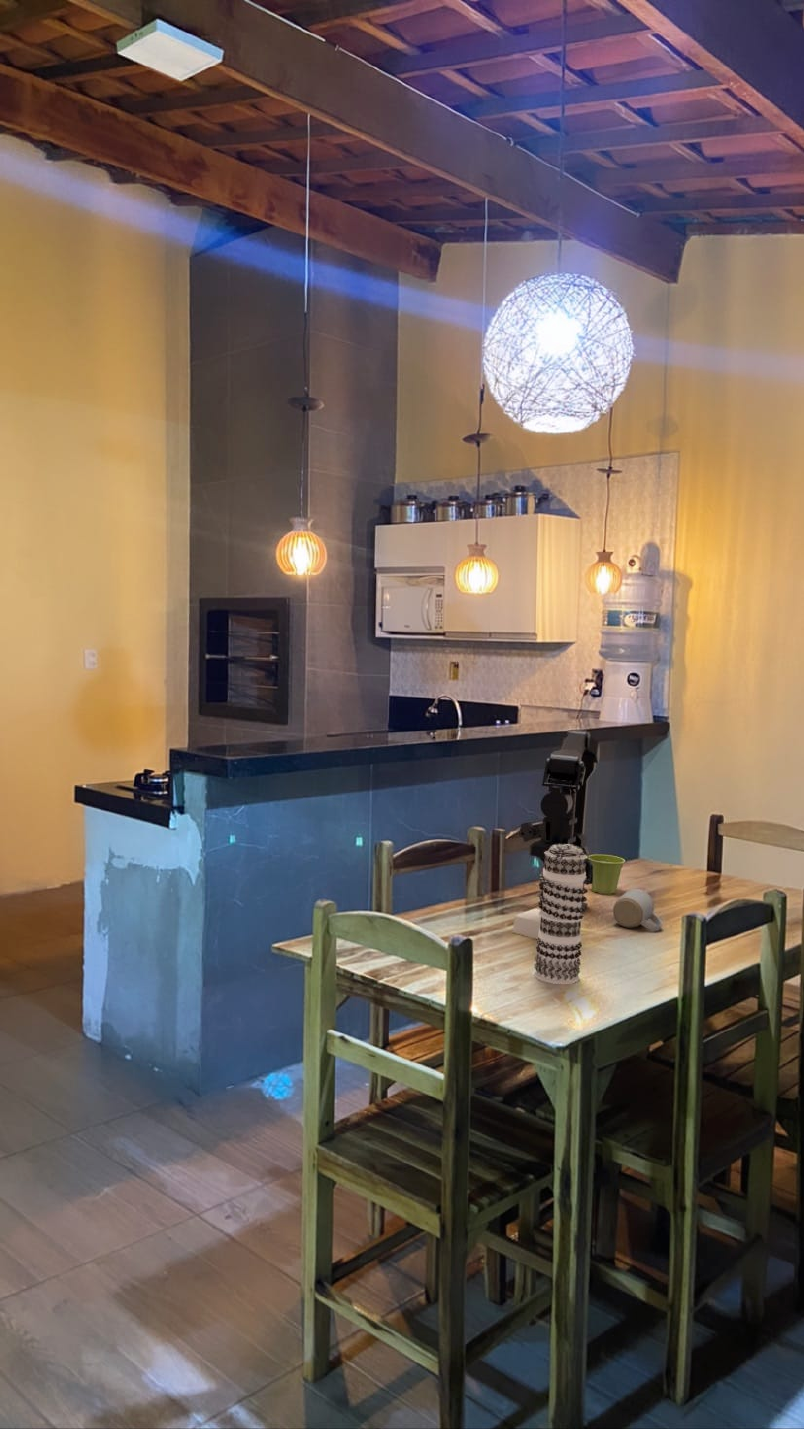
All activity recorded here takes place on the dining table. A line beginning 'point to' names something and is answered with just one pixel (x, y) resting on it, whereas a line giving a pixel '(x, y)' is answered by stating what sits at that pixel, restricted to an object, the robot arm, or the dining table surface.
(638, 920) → the ceramic mug
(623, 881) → the dining table surface
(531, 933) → the cream block
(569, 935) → the decorative candle
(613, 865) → the plant pot
